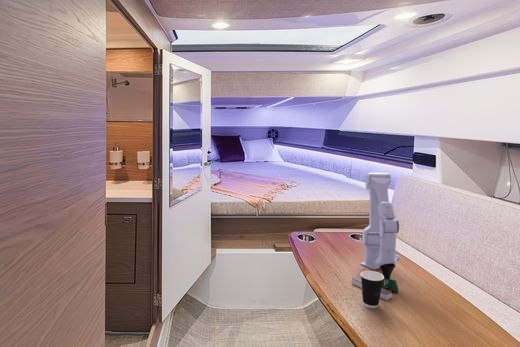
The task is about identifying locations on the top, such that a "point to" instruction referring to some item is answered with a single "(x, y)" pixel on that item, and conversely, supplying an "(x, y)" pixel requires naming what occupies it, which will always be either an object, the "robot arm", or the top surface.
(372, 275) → the dixie cup
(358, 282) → the bar
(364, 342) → the top surface
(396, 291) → the gaming controller
